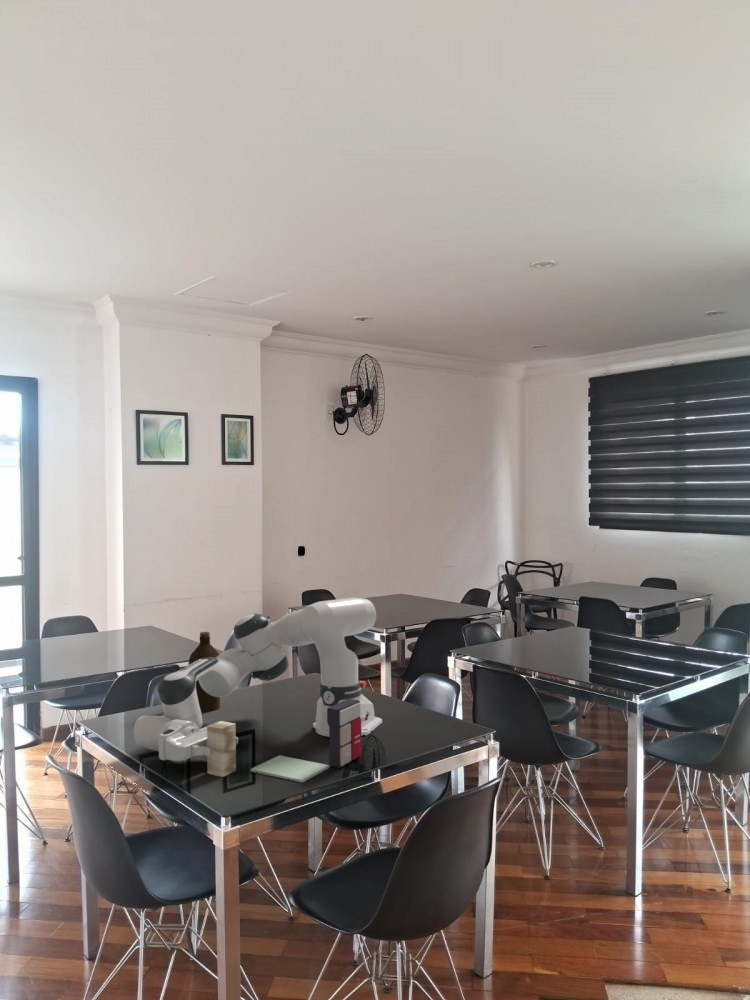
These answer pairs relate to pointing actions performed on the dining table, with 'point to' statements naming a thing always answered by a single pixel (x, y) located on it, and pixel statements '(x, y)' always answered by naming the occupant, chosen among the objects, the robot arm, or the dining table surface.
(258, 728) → the dining table surface
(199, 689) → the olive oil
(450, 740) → the dining table surface
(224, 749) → the birch block
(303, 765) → the rubber mat
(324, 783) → the dining table surface
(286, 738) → the dining table surface
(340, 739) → the dark grey box
